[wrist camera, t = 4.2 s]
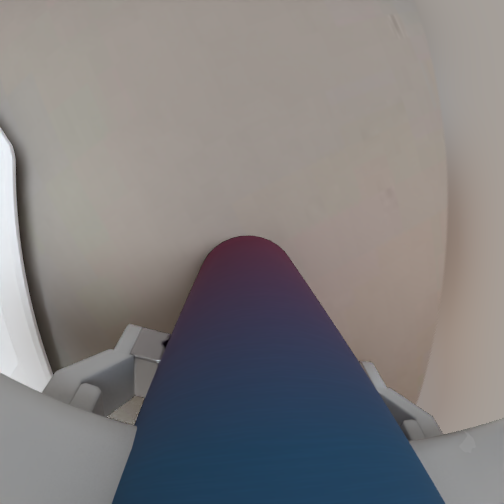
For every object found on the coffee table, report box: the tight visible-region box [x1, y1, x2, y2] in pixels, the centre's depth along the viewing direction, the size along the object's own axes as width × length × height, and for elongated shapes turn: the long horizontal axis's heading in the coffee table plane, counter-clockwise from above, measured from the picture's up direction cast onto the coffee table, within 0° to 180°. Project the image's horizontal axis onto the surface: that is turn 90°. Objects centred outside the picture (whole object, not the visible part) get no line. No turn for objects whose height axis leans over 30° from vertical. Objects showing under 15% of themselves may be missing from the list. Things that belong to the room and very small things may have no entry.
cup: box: [112, 236, 445, 504], centre depth 9 cm, size 7×7×15 cm
